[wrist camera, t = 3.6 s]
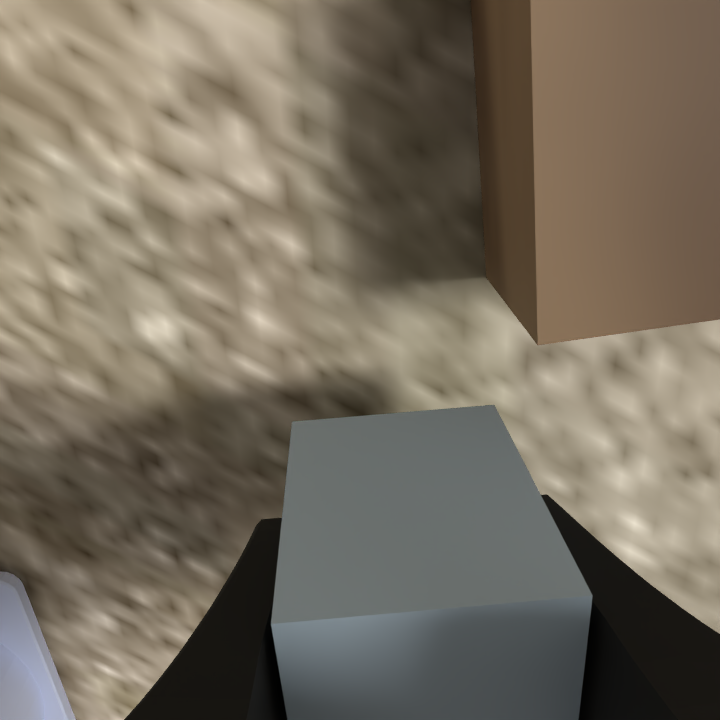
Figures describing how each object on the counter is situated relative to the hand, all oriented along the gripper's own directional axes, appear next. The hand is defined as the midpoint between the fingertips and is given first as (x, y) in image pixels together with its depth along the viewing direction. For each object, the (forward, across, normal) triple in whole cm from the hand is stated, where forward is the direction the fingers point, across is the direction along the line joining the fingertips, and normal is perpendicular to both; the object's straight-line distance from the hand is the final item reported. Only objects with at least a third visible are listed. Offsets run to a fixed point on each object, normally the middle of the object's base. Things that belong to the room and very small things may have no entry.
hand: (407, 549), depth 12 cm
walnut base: (+4, -5, -7) cm, 10 cm away
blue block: (+2, 0, 0) cm, 2 cm away
